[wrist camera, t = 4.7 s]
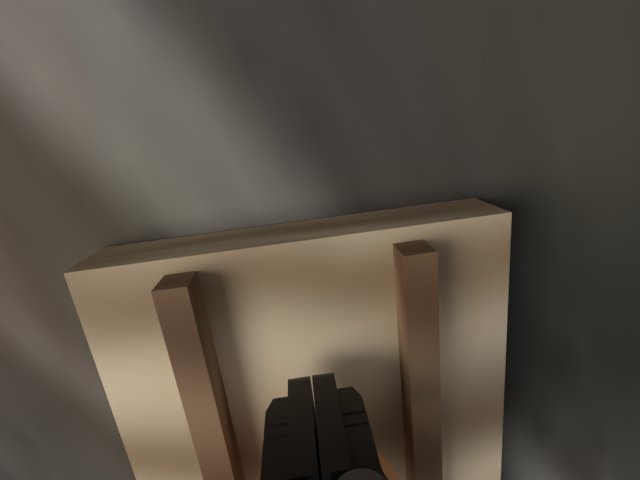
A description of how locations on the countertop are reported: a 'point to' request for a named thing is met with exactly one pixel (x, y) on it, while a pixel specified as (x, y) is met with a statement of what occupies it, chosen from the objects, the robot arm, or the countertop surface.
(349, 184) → the countertop surface
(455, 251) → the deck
